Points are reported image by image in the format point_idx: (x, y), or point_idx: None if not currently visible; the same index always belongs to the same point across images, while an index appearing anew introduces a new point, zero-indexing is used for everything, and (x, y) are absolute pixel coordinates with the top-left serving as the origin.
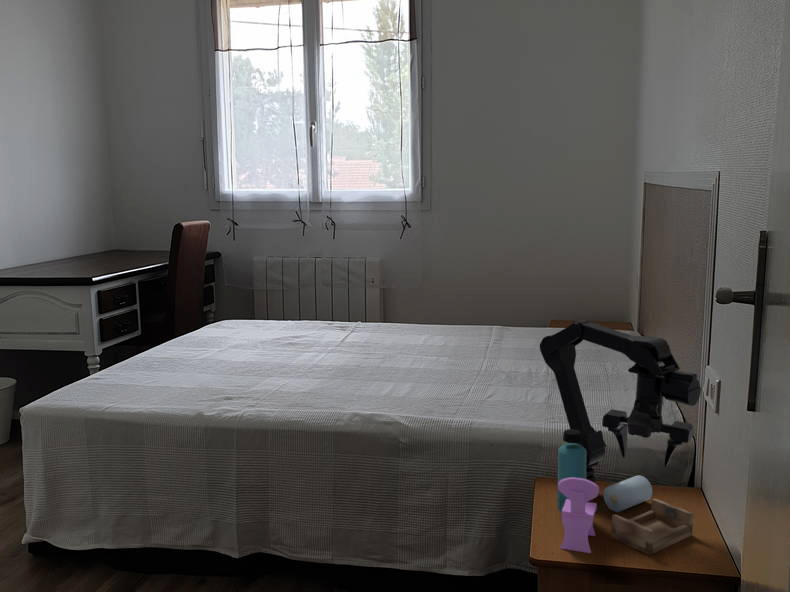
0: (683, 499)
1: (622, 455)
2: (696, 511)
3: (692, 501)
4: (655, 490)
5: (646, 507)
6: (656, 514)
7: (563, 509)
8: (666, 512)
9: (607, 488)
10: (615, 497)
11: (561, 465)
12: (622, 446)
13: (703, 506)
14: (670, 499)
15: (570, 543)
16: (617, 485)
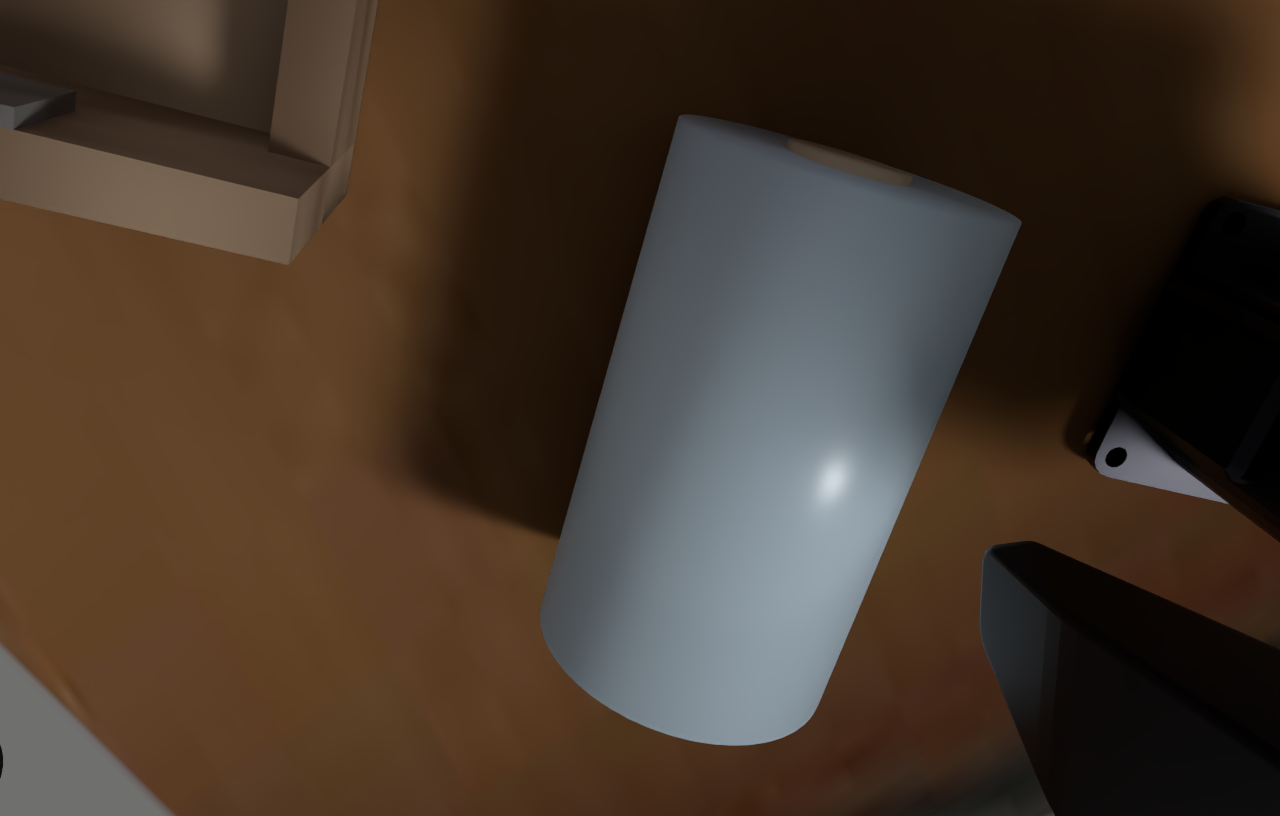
0: (350, 791)
1: (1065, 560)
2: (122, 643)
3: (267, 801)
4: (633, 807)
5: (547, 436)
6: (254, 139)
7: None
8: (45, 91)
9: (994, 217)
10: (833, 157)
11: None
12: (1251, 701)
13: (135, 770)
14: (442, 727)
15: None
16: (878, 261)
